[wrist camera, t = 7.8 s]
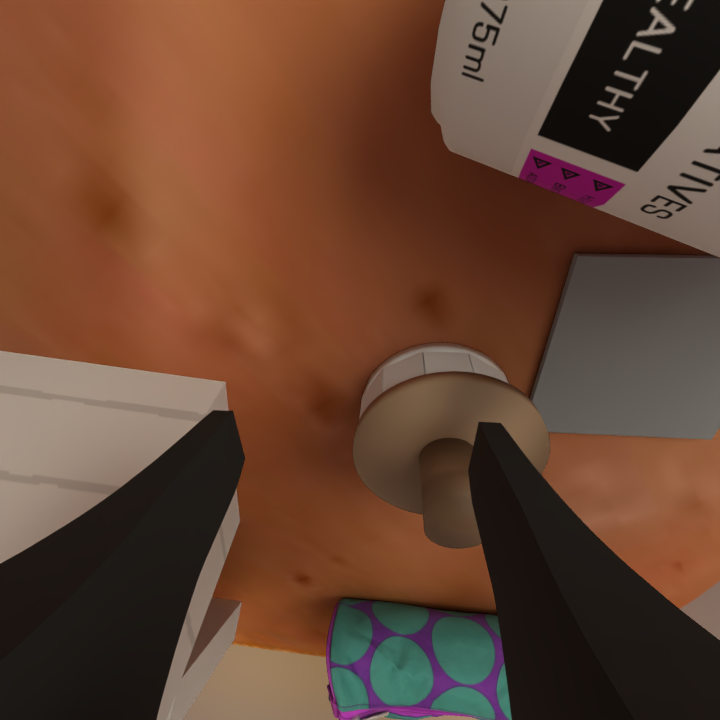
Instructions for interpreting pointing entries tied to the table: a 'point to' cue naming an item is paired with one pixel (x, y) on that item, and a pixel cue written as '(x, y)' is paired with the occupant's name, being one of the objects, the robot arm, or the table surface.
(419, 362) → the bowl
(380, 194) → the table surface
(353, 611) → the pencil case
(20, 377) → the pizza boxes
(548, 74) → the supplement can
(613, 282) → the mat
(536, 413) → the lid
